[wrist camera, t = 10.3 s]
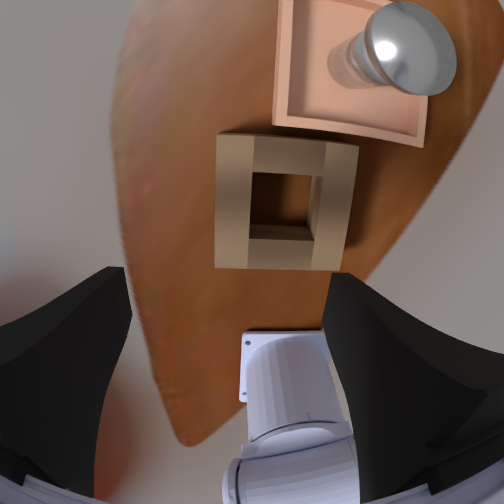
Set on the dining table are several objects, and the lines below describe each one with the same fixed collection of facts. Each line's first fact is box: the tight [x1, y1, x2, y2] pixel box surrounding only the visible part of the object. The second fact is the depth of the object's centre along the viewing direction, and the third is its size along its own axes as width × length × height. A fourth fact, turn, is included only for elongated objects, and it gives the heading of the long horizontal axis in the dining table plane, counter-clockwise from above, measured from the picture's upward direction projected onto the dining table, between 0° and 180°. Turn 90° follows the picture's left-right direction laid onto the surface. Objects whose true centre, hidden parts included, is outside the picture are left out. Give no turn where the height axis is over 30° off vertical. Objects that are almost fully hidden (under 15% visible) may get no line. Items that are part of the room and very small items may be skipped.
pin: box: [327, 1, 457, 96], centre depth 12 cm, size 4×4×8 cm
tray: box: [272, 0, 428, 148], centre depth 15 cm, size 10×10×2 cm
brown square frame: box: [215, 133, 359, 271], centre depth 18 cm, size 8×8×2 cm
